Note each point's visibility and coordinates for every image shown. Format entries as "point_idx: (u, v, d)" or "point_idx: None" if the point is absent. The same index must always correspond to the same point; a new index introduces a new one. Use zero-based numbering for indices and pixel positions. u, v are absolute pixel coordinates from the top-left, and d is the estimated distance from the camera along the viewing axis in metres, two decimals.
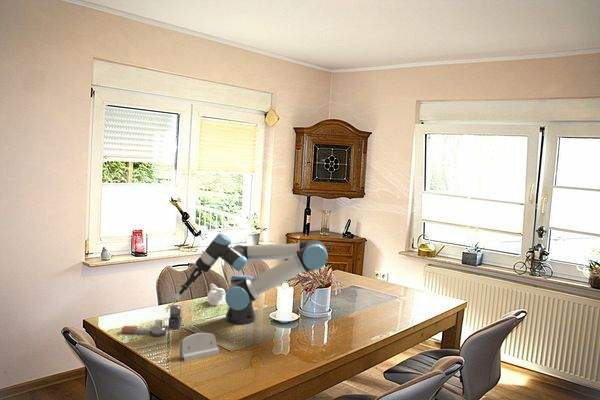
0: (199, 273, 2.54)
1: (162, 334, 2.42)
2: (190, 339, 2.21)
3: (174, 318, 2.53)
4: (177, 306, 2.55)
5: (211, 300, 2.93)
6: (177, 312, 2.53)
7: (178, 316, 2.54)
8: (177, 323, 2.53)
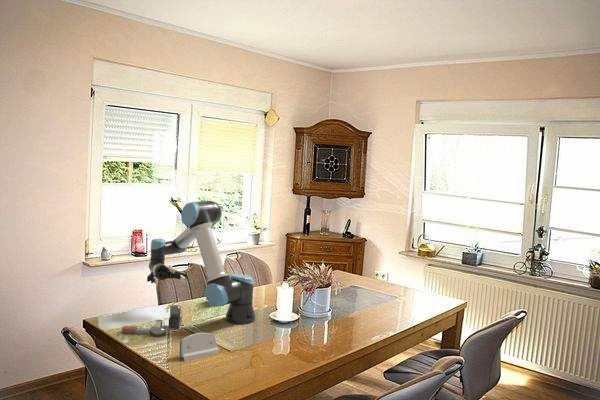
0: (160, 272, 2.74)
1: (162, 334, 2.42)
2: (190, 339, 2.21)
3: (174, 318, 2.53)
4: (177, 306, 2.55)
5: None
6: (177, 312, 2.53)
7: (178, 316, 2.54)
8: (177, 323, 2.53)
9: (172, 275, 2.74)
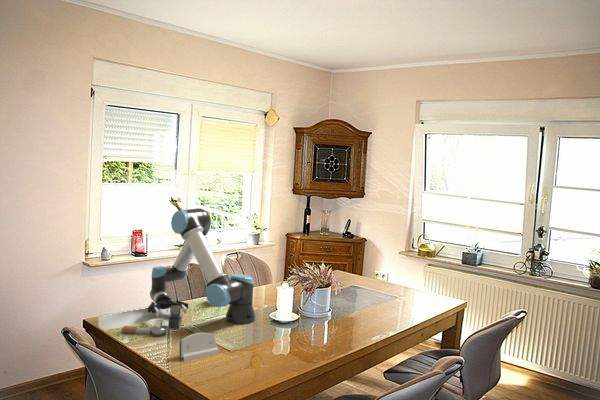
0: (161, 301, 2.71)
1: (162, 334, 2.42)
2: (190, 339, 2.21)
3: (174, 318, 2.53)
4: (177, 306, 2.55)
5: None
6: (177, 312, 2.53)
7: (178, 316, 2.54)
8: (177, 323, 2.53)
9: None
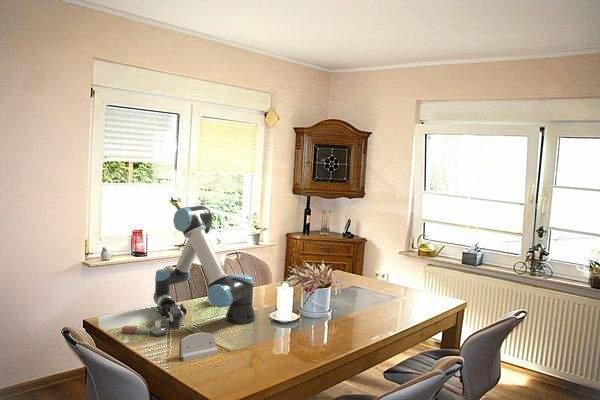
0: (165, 305, 2.64)
1: (162, 334, 2.42)
2: (189, 339, 2.21)
3: (174, 318, 2.53)
4: (177, 306, 2.55)
5: None
6: (177, 312, 2.53)
7: (178, 316, 2.54)
8: (177, 323, 2.53)
9: None
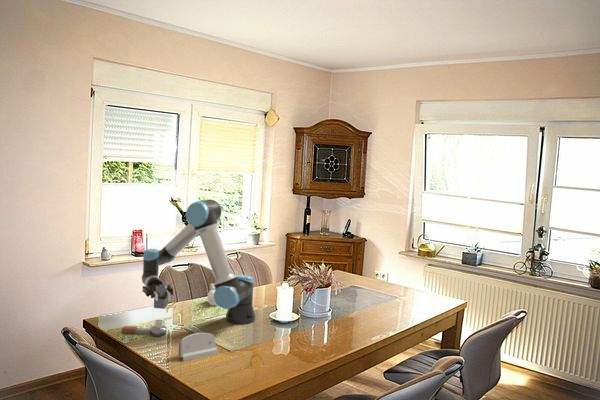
0: (152, 285, 2.55)
1: (162, 334, 2.42)
2: (189, 339, 2.21)
3: (160, 298, 2.44)
4: (163, 285, 2.46)
5: (211, 300, 2.93)
6: (163, 291, 2.44)
7: (164, 296, 2.44)
8: (163, 303, 2.44)
9: None
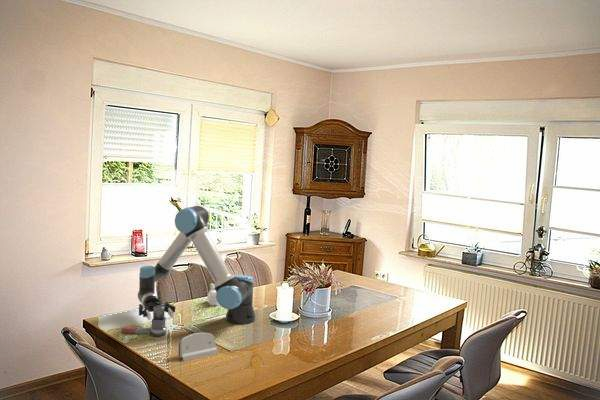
0: (149, 303, 2.53)
1: (162, 334, 2.42)
2: (189, 339, 2.21)
3: (157, 319, 2.42)
4: (161, 306, 2.44)
5: (211, 300, 2.93)
6: (161, 312, 2.42)
7: (162, 317, 2.42)
8: (161, 324, 2.42)
9: None
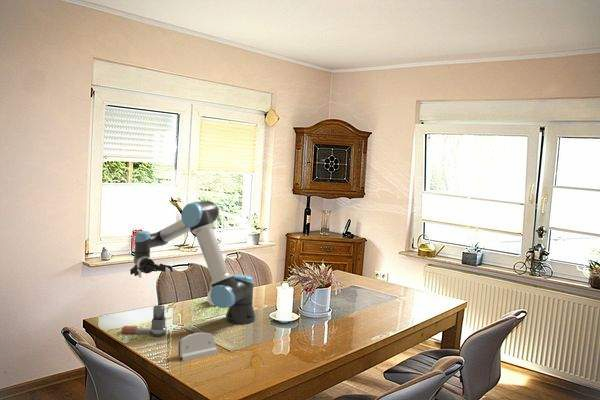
0: None
1: (162, 334, 2.42)
2: (188, 339, 2.21)
3: (157, 319, 2.42)
4: (161, 306, 2.44)
5: (211, 300, 2.93)
6: (161, 312, 2.42)
7: (162, 317, 2.42)
8: (161, 324, 2.42)
9: (157, 268, 2.63)
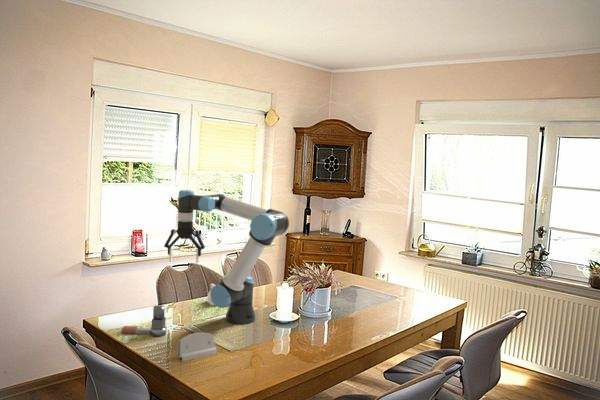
0: (180, 232, 2.66)
1: (162, 334, 2.42)
2: (188, 339, 2.21)
3: (157, 319, 2.42)
4: (161, 306, 2.44)
5: (211, 300, 2.93)
6: (161, 312, 2.42)
7: (162, 317, 2.42)
8: (161, 324, 2.42)
9: None
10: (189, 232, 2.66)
